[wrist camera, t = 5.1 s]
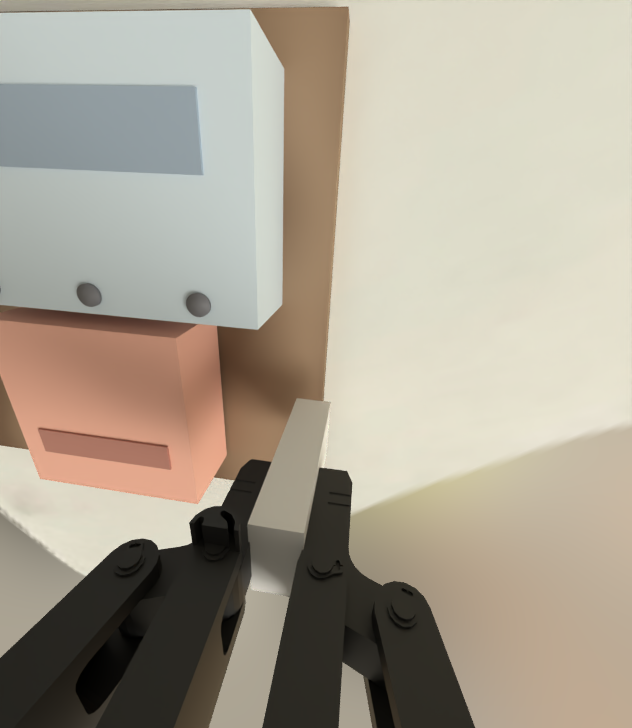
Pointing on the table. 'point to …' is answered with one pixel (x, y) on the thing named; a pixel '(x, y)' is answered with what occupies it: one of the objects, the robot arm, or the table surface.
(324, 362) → the backing board
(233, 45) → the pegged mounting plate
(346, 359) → the table surface
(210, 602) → the robot arm
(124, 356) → the stub
